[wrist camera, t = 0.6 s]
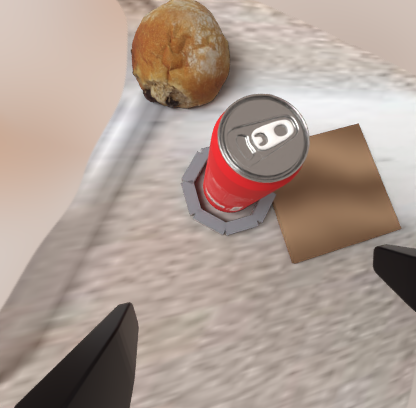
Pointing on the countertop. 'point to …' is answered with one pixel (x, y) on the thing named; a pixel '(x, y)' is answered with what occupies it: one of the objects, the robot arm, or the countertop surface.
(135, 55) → the bread roll
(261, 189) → the beverage can
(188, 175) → the ring
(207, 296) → the countertop surface
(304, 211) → the coaster
